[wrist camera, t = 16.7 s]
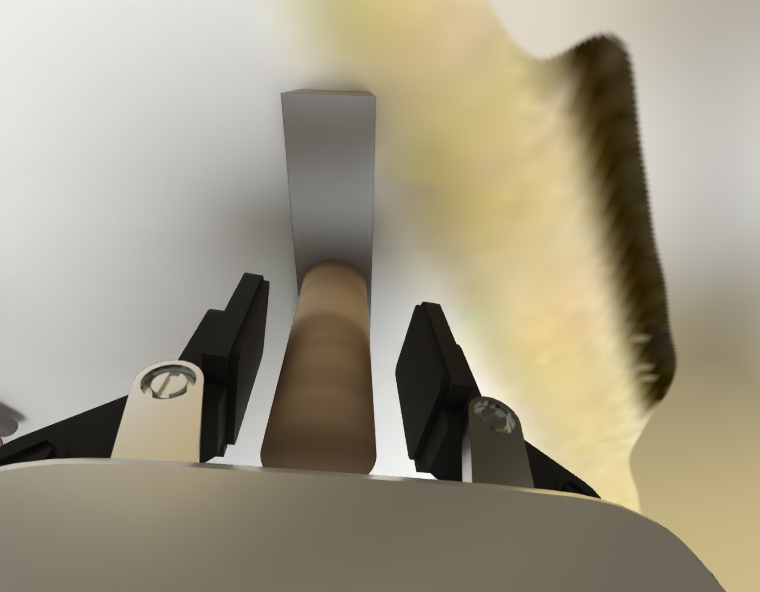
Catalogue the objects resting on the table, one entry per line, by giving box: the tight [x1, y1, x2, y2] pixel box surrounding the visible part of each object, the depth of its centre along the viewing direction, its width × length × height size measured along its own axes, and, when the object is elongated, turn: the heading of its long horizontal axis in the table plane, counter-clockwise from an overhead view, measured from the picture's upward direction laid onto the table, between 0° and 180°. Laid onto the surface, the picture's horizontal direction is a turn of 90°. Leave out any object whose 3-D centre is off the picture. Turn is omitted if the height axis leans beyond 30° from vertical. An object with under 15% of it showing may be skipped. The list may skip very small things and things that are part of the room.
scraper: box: [260, 90, 376, 474], centre depth 14 cm, size 14×3×13 cm, turn 178°
